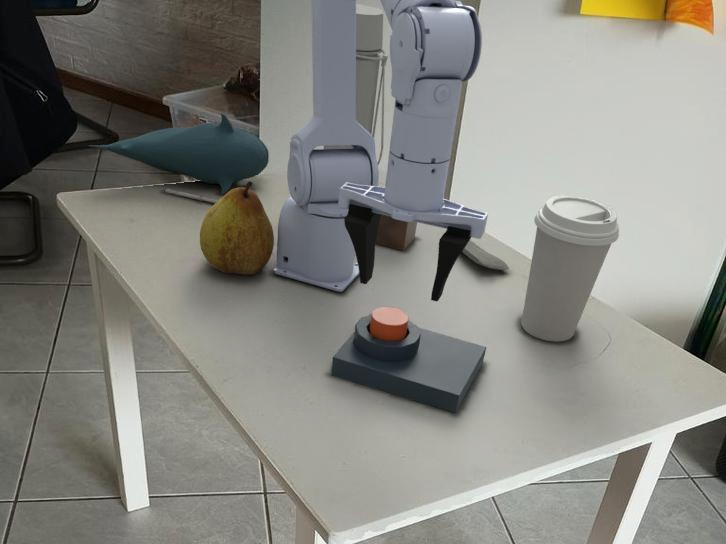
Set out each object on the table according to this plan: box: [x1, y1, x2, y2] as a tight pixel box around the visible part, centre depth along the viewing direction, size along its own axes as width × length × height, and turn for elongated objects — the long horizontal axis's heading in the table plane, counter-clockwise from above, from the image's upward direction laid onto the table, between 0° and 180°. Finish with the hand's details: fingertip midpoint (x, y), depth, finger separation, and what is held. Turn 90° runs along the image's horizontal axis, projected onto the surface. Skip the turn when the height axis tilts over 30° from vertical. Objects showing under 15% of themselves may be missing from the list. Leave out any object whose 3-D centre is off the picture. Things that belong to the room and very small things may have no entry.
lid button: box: [369, 306, 410, 341], centre depth 88 cm, size 4×4×2 cm
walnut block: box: [375, 214, 418, 251], centre depth 114 cm, size 5×5×5 cm
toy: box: [87, 113, 270, 195], centre depth 123 cm, size 11×26×15 cm
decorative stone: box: [461, 239, 510, 271], centre depth 113 cm, size 11×1×5 cm
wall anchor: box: [164, 188, 221, 204], centre depth 119 cm, size 1×9×1 cm, turn 71°
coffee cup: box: [521, 194, 620, 343], centre depth 96 cm, size 10×10×15 cm
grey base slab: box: [330, 313, 487, 414], centre depth 89 cm, size 14×11×4 cm
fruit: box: [199, 180, 275, 276], centre depth 100 cm, size 9×9×12 cm
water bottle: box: [323, 3, 389, 166], centre depth 120 cm, size 9×8×25 cm
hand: (400, 288), depth 85 cm, fingers open, 7 cm apart
